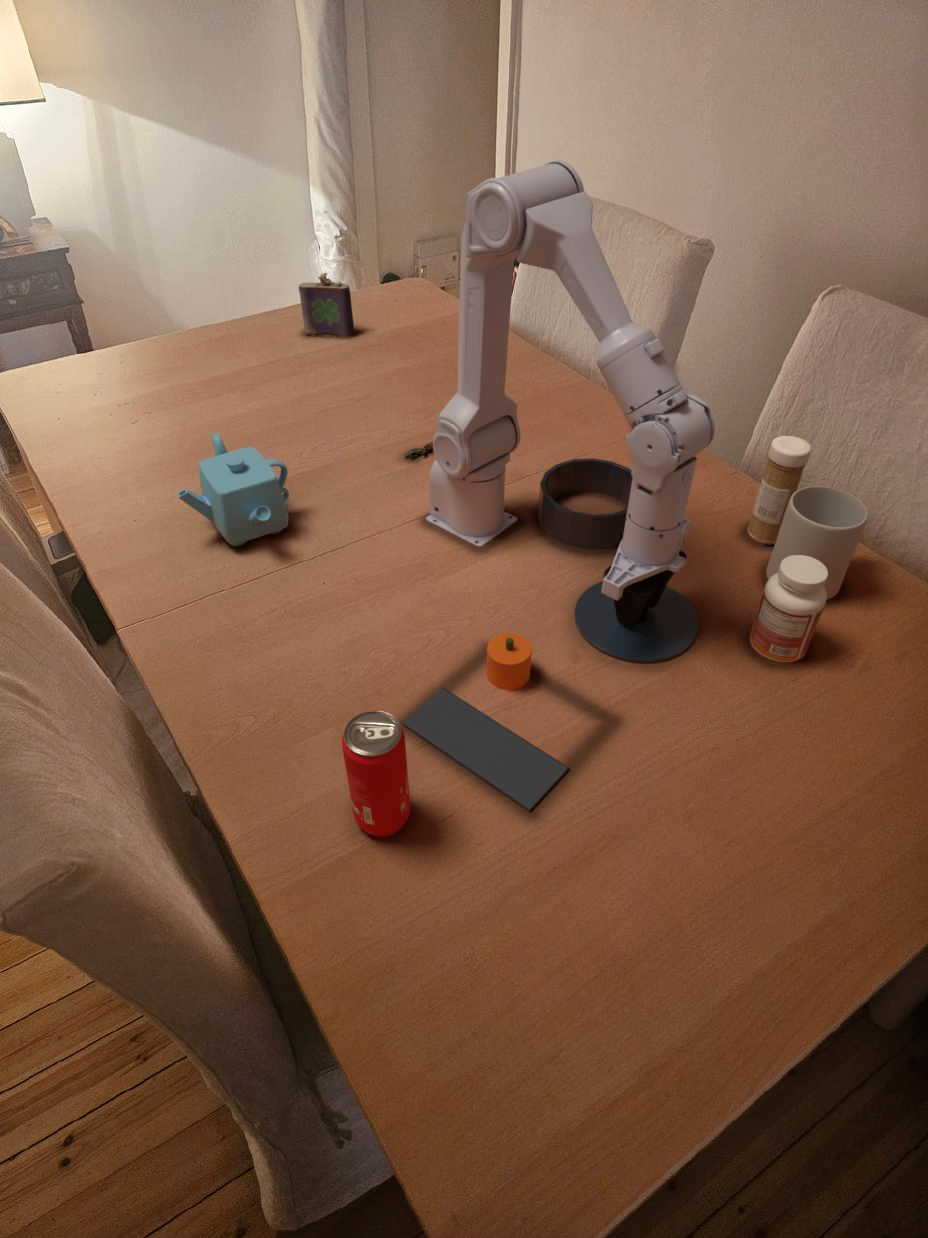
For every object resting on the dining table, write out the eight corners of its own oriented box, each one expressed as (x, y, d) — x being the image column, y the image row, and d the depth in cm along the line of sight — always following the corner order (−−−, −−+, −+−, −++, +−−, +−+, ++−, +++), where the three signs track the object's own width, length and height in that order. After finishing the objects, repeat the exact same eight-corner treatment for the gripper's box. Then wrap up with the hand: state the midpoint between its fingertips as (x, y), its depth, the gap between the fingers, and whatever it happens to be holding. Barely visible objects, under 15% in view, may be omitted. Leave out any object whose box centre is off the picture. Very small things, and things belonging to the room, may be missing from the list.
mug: (807, 614, 95) (836, 538, 87) (750, 575, 100) (773, 500, 92) (872, 577, 100) (905, 502, 92) (814, 541, 105) (841, 467, 97)
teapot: (320, 545, 104) (310, 478, 98) (213, 582, 99) (194, 514, 92) (269, 478, 116) (256, 413, 109) (170, 508, 111) (151, 442, 104)
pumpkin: (477, 676, 87) (478, 641, 84) (504, 653, 90) (506, 618, 86) (512, 697, 85) (514, 662, 81) (538, 672, 88) (541, 638, 84)
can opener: (452, 437, 123) (452, 430, 123) (461, 444, 122) (461, 437, 121) (400, 455, 120) (400, 448, 119) (408, 462, 118) (408, 455, 118)
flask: (303, 335, 150) (295, 276, 143) (307, 329, 152) (299, 269, 145) (353, 338, 149) (347, 278, 142) (356, 331, 152) (351, 272, 144)
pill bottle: (779, 620, 94) (806, 543, 86) (818, 654, 90) (850, 577, 82) (736, 636, 92) (760, 559, 85) (773, 672, 88) (802, 595, 80)
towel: (402, 725, 83) (402, 722, 83) (489, 649, 91) (489, 647, 90) (529, 812, 75) (529, 809, 75) (612, 721, 83) (613, 719, 83)
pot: (518, 525, 108) (520, 489, 104) (575, 482, 115) (579, 447, 111) (603, 566, 101) (608, 530, 98) (658, 517, 109) (665, 482, 105)
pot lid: (550, 628, 93) (552, 598, 90) (615, 569, 101) (620, 539, 98) (656, 686, 87) (663, 655, 83) (718, 618, 94) (726, 588, 91)
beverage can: (354, 794, 77) (341, 710, 69) (410, 790, 77) (403, 706, 69) (353, 843, 73) (339, 760, 65) (412, 838, 73) (405, 755, 65)
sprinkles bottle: (789, 538, 105) (820, 446, 96) (765, 550, 103) (794, 458, 94) (762, 520, 108) (789, 430, 99) (738, 532, 106) (763, 440, 97)
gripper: (652, 565, 77) (633, 664, 87) (724, 497, 86) (699, 595, 95) (590, 535, 81) (577, 635, 90) (665, 473, 89) (646, 570, 98)
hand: (636, 613), depth 93 cm, fingers open, 4 cm apart
